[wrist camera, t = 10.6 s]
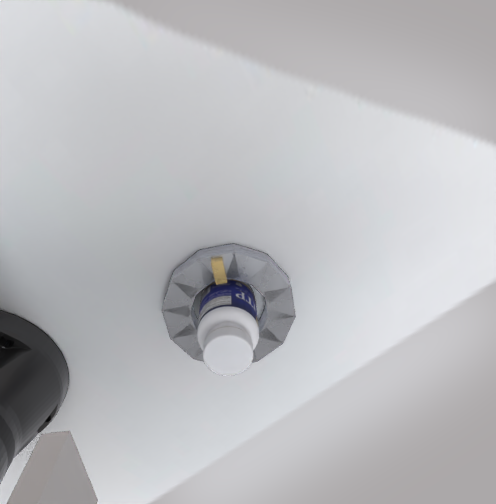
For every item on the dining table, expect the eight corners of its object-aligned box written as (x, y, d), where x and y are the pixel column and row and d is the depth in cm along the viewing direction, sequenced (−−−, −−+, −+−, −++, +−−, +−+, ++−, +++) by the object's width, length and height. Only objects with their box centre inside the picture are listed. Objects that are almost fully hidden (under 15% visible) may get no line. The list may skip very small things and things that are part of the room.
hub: (183, 361, 45) (180, 380, 43) (152, 258, 40) (147, 272, 38) (298, 341, 45) (302, 359, 42) (281, 234, 40) (285, 247, 37)
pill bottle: (264, 308, 43) (273, 367, 35) (217, 330, 44) (216, 393, 36) (238, 265, 41) (241, 317, 33) (190, 290, 42) (181, 346, 34)
